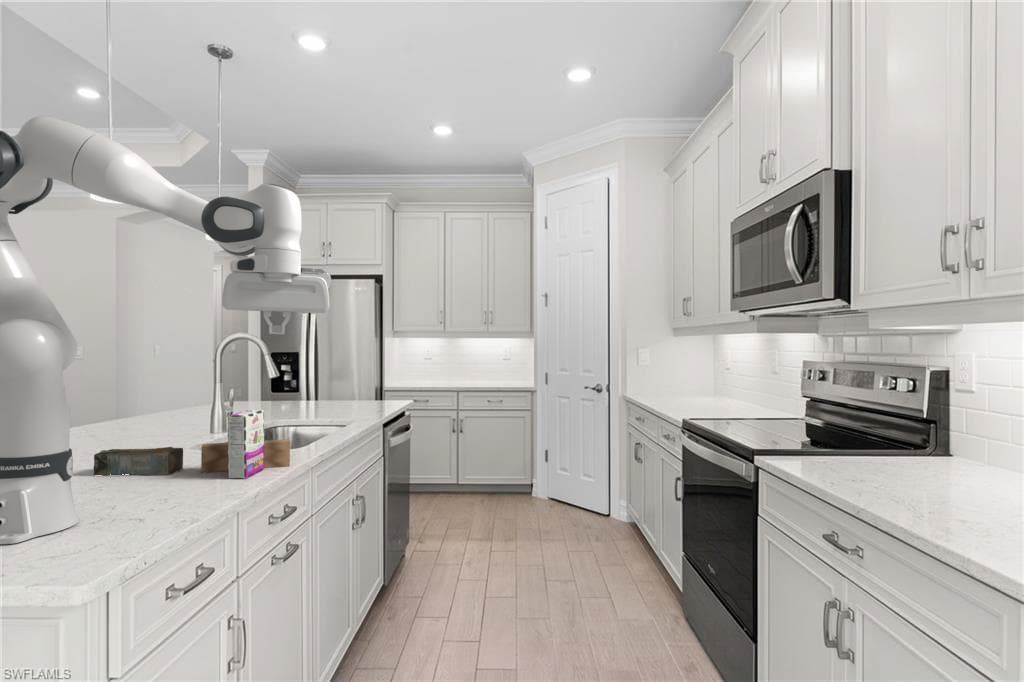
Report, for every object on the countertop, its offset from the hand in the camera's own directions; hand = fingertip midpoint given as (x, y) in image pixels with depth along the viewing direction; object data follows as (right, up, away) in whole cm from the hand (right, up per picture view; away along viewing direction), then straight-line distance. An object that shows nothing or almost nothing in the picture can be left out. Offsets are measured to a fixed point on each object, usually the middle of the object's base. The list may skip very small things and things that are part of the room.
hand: (276, 334), depth 118 cm
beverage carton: (-51, -37, +36) cm, 72 cm away
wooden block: (-26, -37, +42) cm, 62 cm away
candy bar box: (-22, -37, +35) cm, 56 cm away
